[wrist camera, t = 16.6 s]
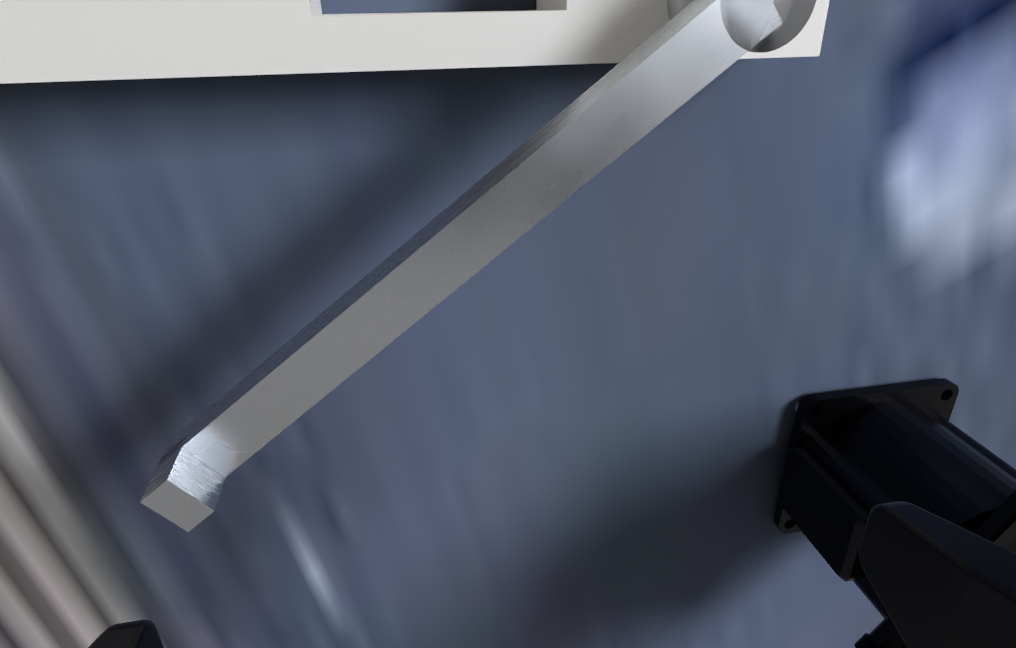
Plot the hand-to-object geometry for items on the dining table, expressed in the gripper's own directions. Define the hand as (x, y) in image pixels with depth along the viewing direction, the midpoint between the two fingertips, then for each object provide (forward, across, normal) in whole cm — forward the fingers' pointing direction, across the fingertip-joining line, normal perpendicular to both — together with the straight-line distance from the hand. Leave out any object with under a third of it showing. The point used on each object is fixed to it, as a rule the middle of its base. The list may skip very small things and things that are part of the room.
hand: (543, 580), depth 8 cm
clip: (+8, 0, -2) cm, 8 cm away
